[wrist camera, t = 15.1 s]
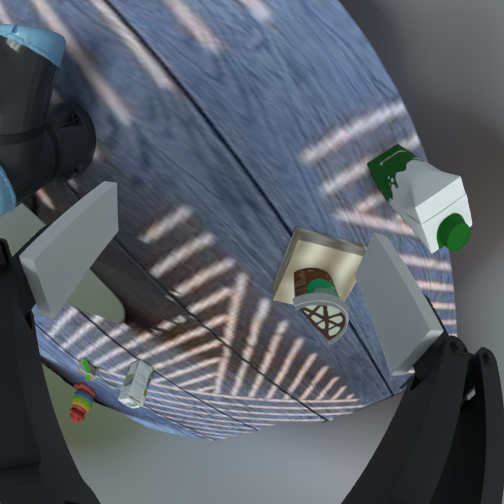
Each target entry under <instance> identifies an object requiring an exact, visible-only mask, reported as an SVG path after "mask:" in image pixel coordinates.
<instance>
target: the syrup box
mask: <svg viewBox="0 0 504 504" xmlns="http://www.w3.org/2000/svg"><path fill="white" fill-rule="evenodd" d="M153 370H154V369H153V368H152V367H151V366H149V365H148V364H146V363H145V362H143V361H142V360H138V361H136V362H133V363H131V365H130V367H129V370H128V373H127V376H126V378H125V381H124V384H123V387H122V390H121V393H120V396H119V398H118V400H119V401H120V402H122V403H123V404H125V405H126V406H128V407H130V408H138V407H142V406H143V404H144V400H145V397H146V393H147V390H148V387H149V383H150V380H151V377H152V373H153Z"/></svg>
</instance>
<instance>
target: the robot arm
mask: <svg viewBox="0 0 504 504" xmlns="http://www.w3.org/2000/svg"><path fill="white" fill-rule="evenodd" d="M65 46H66V41H65V39H64V37H63V36H62V35H60V34H58V33H55V32H52V31H49V30H45V29H40V28H35V27H29V26H19V25H9V24H5V25H0V217H1V216H3V215H4V214H6V213H7V212H9V211H12V210H13V209H14V208H15V207H17V206H18V205H19V204H21V203H22V202H23V201H24V200H26V199H27V198H28V197H30V196H31V195H32V194H34V193H35V192H37V191H38V190H39V189H41V188H42V187H44V186H45V185H47V184H48V183H52V182H61V181H67V180H70V179H72V178H74V177H76V176H77V175H79V174H80V173H82V172H83V171H84V170H85V169H86V168H87V167H88V165H89V163H90V162H91V160H92V157H93V154H94V150H95V130H94V126H93V123H92V121H91V118H90V117H89V115H88V113H87V112H86V111H85V110H84V109H83V108H82V107H81V106H79V105H77V104H75V103H72V102H63V103H59V104H55V105H52V106H50V107H49V103H50V99H51V95H52V91H53V88H54V84H55V80H56V77H57V74H58V70H59V69H60V68H61V65H60V63H61V59H62V56H63V53H64V49H65ZM117 232H118V211H117V183H114V182H107V181H104V182H103V183H101V184H100V185H99V186H97V187H96V188H95V189H93V190H92V191H91V192H89V193H88V194H87V195H86V196H84V197H83V198H82V199H81V200H79V201H78V202H77V203H76V204H75V205H73V206H72V207H71V208H70V209H69V210H67V211H66V212H65V213H64V214H63V215H62V216H60V217H59V218H58V219H57V220H56V221H55V222H54V223H51V224H49V225H47V226H45V227H43V228H42V229H41V230H39V232H37V233H36V234H35V236H33V237H32V238H31V239H30V241H28V242H27V243H26V244H25V245H24V246H23V247H22V248H21V249H20V250H19V251H18V252H17V253H16V254H15V255H14V256H13V257H12V256H11V253H10V250H9V246H8V243H7V241H6V240H5V239H2V238H0V503H1V504H100V502H99V500H98V499H97V497H96V495H95V494H94V492H93V491H92V490H91V488H90V487H89V486H88V485H87V484H86V483H85V482H84V480H83V479H82V477H81V476H80V474H79V472H78V469H77V467H76V465H75V463H74V461H73V459H72V456H71V454H70V452H69V449H68V447H67V445H66V442H65V440H64V437H63V434H62V432H61V429H60V426H59V424H58V421H57V418H56V415H55V412H54V409H53V406H52V402H51V399H50V395H49V392H48V388H47V384H46V380H45V376H44V372H43V368H42V363H41V358H40V353H39V348H38V342H37V336H36V329H35V322H34V315H33V312H32V310H31V309H32V308H33V306H34V305H35V304H36V305H37V308H38V310H39V313H40V314H41V315H43V316H46V317H48V318H51V319H53V320H55V318H56V316H57V315H58V313H59V312H60V310H61V309H62V307H63V305H64V304H65V302H66V301H67V299H68V298H69V296H70V295H71V293H72V292H73V290H74V289H75V288H76V286H77V285H78V283H79V282H80V280H81V279H82V278H83V276H84V275H85V273H86V272H87V271H88V269H89V268H90V267H91V265H92V264H93V263H94V261H95V260H96V259H97V257H98V256H99V255H100V253H101V252H102V251H103V249H104V248H105V247H106V246H107V244H108V243H109V242H110V241H111V239H112V238H113V237H114V236H115V234H116V233H117ZM354 275H355V278H356V280H357V282H358V285H359V287H360V290H361V292H362V295H363V298H364V300H365V303H366V305H367V308H368V311H369V313H370V316H371V319H372V321H373V324H374V327H375V330H376V333H377V335H378V338H379V341H380V344H381V347H382V350H383V353H384V356H385V359H386V362H387V365H388V369H389V372H390V375H405V374H406V373H407V372H408V371H409V370H410V369H411V368H412V366H413V367H414V370H415V373H414V374H413V375H412V376H411V377H410V378H409V379H408V380H407V381H406V382H405V383H404V384H403V385H402V386H401V387H400V388H401V389H403V388H404V387H405V386H407V387H406V390H405V392H404V394H403V397H402V399H401V401H400V404H399V406H398V408H397V410H396V412H395V415H394V417H393V419H392V421H391V423H390V425H389V427H388V429H387V431H386V433H385V435H384V437H383V438H382V440H381V442H380V444H379V446H378V448H377V449H376V451H375V453H374V455H373V456H372V458H371V460H370V461H369V463H368V465H367V466H366V468H365V470H364V471H363V473H362V474H361V476H360V478H359V479H358V480H357V482H356V483H355V485H354V486H353V488H352V489H351V491H350V492H349V493H348V495H347V496H346V498H345V499H344V500H343V502H342V503H341V504H502V496H503V489H504V406H503V397H502V390H501V383H500V377H499V371H498V366H497V362H496V359H495V357H494V354H493V353H492V352H491V351H490V350H488V349H487V348H485V347H482V348H480V349H479V350H478V351H477V352H476V353H475V354H472V353H469V352H468V350H467V348H466V346H465V345H464V343H463V342H462V341H461V340H460V339H459V338H457V337H455V336H451V335H450V336H449V335H448V333H447V331H446V329H445V327H444V325H443V323H442V322H441V320H440V318H439V316H438V314H436V313H437V312H436V311H435V309H434V308H433V305H432V304H431V302H430V300H429V298H428V297H427V296H426V295H425V294H424V293H423V292H422V291H421V289H420V288H419V286H418V284H417V283H416V281H415V279H414V278H413V276H412V274H411V273H410V271H409V270H408V268H407V267H406V265H405V263H404V262H403V260H402V259H401V257H400V256H399V254H398V253H397V251H396V250H395V248H394V247H393V245H392V244H391V243H390V241H389V240H388V238H387V237H386V236H384V235H380V234H376V233H374V234H373V237H372V239H371V241H370V243H369V245H368V248H367V250H366V252H365V254H364V256H363V258H362V260H361V262H360V264H359V266H358V268H357V270H356V272H355V274H354ZM474 389H475V395H474V396H473V397H472V398H471V399H470V400H468V399H467V395H469V394H470V393H471V392H472V391H473V390H474Z"/></svg>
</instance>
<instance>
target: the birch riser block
mask: <svg viewBox="0 0 504 504" xmlns="http://www.w3.org/2000/svg"><path fill="white" fill-rule="evenodd" d="M365 252H366V250H365V248H364V247H363V245H361V244H357V243H354V242H350V241H347V240H343V239H340V238H336V237H332V236H329V235H325V234H321V233H318V232H314V231H310V230H307V229H303V228H299V227H295V229H294V232H293V235H292V237H291V240H290V242H289V245H288V247H287V250H286V253H285V255H284V258H283V260H282V263H281V265H280V268H279V270H278V273H277V275H276V278H275V280H274V283H273V285H272V286H273V300H274V301H279V302H284V303H289V304H293V298H295V296H294V272H296V271H298V270H301V269H304V268H318V269H322V270H324V271H326V272H327V273H328V274H329V275H330V276H331V278H332V280H333V283H334V285H335V288H336V290H337V293H338V295H339V298H340V299H341V300H342V301H343V302H345V300H346V298H347V297H348V295H349V293H350V292H351V290H352V289H353V287H354V285H355V283H356V282H357V280H356V278H355V275H354V274H355V272H356V270H357V268H358V266H359V264H360V262H361V260H362V258H363V256H364V254H365Z"/></svg>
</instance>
